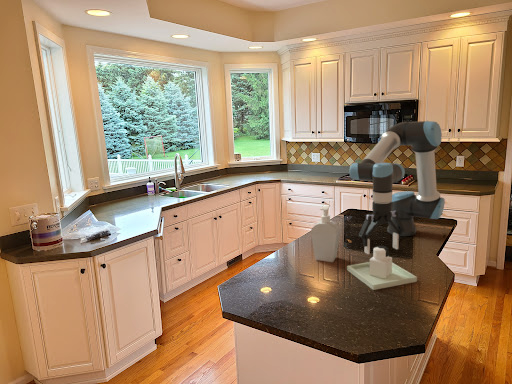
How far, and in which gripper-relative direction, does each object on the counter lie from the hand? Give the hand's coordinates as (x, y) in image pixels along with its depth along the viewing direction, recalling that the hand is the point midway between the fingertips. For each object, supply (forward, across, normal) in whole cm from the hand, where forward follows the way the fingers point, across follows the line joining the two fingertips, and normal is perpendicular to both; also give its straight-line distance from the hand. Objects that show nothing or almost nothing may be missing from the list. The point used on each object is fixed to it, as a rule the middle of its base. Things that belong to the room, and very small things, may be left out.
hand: (381, 250), depth 150 cm
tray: (+11, 0, 0) cm, 11 cm away
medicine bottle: (+10, 0, 0) cm, 11 cm away
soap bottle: (+11, +12, -26) cm, 31 cm away
